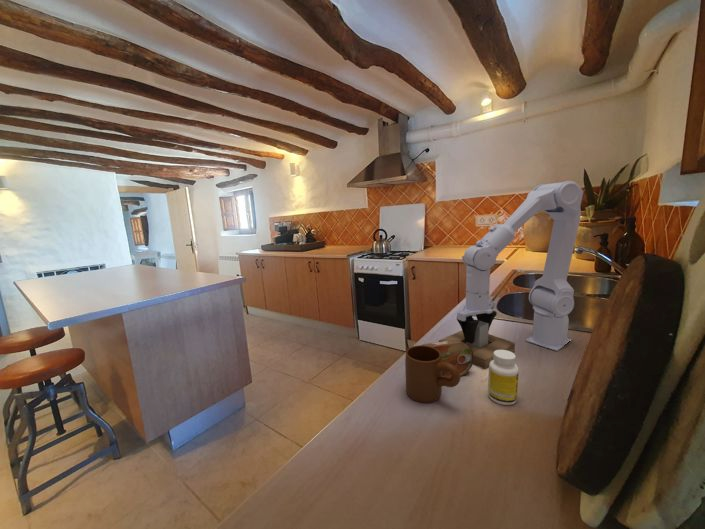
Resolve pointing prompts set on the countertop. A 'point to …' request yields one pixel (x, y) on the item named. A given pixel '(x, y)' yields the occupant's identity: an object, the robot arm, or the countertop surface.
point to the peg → (480, 335)
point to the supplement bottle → (503, 378)
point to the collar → (484, 348)
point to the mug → (427, 373)
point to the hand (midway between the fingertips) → (476, 338)
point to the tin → (454, 355)
